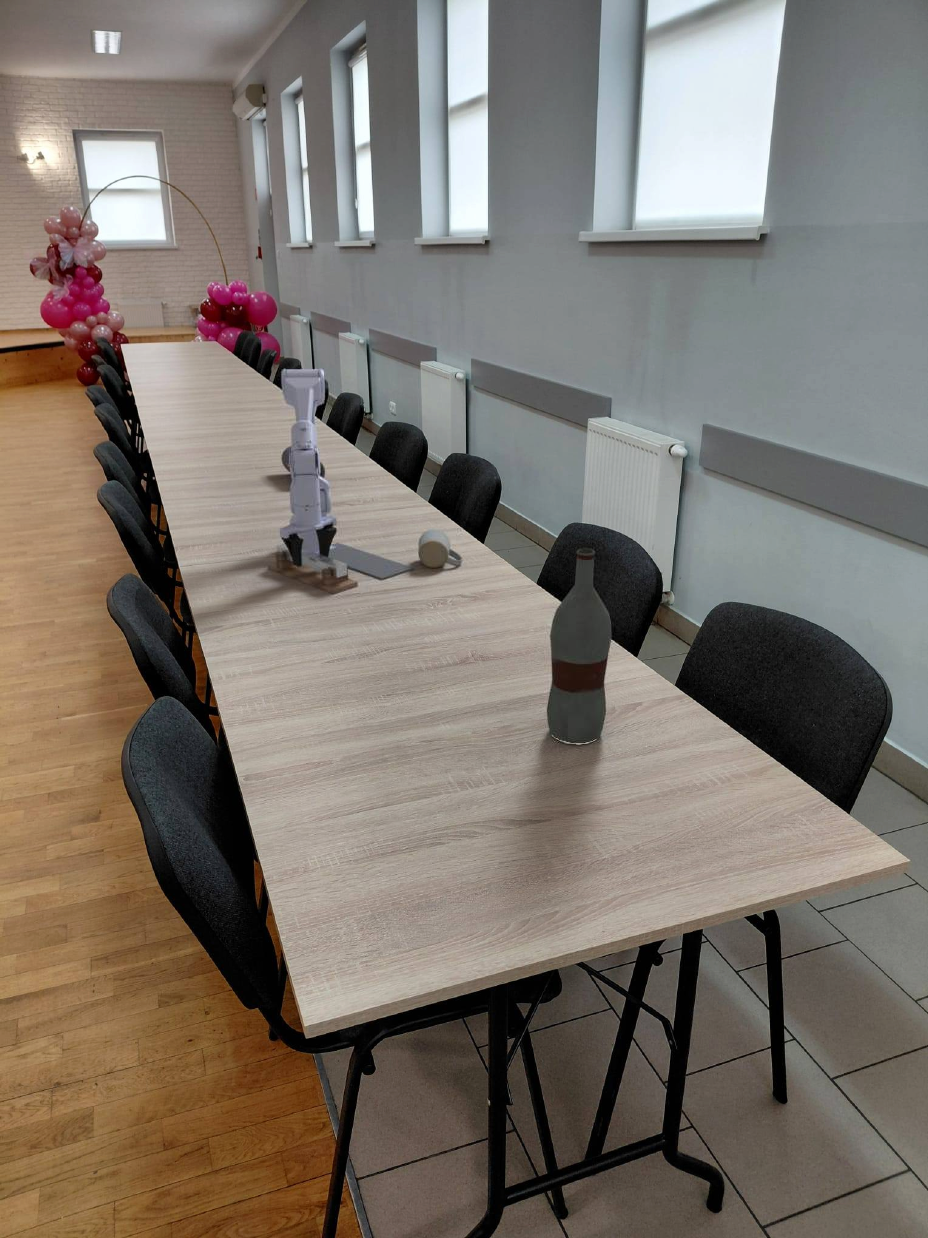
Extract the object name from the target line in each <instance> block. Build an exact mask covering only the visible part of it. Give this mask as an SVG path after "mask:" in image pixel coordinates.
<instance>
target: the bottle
mask: <svg viewBox="0 0 928 1238" xmlns="http://www.w3.org/2000/svg"><path fill="white" fill-rule="evenodd" d="M595 554H596V552H595V550H594V549H592V548H588V547H587V548H586V547H584V548H580V549H579V548H578V550H576V566H575V579H574V580H575V581H574V586H573V587H572V588H571V589H570V591H569V592H568V593H567V595H566V596H565V597H564V598H563V599H562V601H561V602H560V604H559V605H558V607H557V608H556V610H555V613H554V616H553V618H552V621H551V629H550V634H549V640H550V641H549V642H550V650H551V651H550V655H551V684H550V689H549V694H548V701H547V706H546V717H547V719H546V720H547V726H548V729H549V733H550V735H551V734H552V735H553V736H554V737H555V738H558V739H559V740H562V741H566V742H570V743H586V742H590V741H593V740H595V739H597V738H598V737H599V736H600V737H601V734H602V732H603V729H604V724H605V720H606V719H605V718H606V714H607V702H606V701H607V699H606V689H605V679H606V671H607V666H608V660H609V652H610V648H611V643H612V635H613V634H612V621H611V617H610V613H609V611H608V610H607V608H606V606H605V604H604V602H603V601H602V599H601V598H600V596H599V594H598V592H597V591H596V589H595V587H594V566H595V563H594V562H595ZM600 737H599V738H600ZM599 738H598V739H599ZM598 739H597V740H598Z"/></svg>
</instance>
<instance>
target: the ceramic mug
mask: <svg viewBox="0 0 928 1238" xmlns="http://www.w3.org/2000/svg"><path fill="white" fill-rule="evenodd" d="M417 555H418V558H419V560H420V562H421V564H422V565H424V566H425V567H427V568H430V569H438V568H440V567H442V566H444V565H445V564H448V565H450V566H455V567H459V566H461V565H462V562H463V557H462V556H461V554H459V553H458V552H457V551H455V550H454V549H451V542H450V538H449V536H448V535H447V533H445V532H444V531H441V530H439V529H436V528H435V529H434V528H433V529H428V530H426V531H424V532H423V533H422V534H421V536H420V538H419V539H418V551H417ZM451 557H452V558H451Z"/></svg>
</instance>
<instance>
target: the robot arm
mask: <svg viewBox="0 0 928 1238" xmlns="http://www.w3.org/2000/svg"><path fill="white" fill-rule="evenodd" d="M280 376H281V390H282V396H283V398H284V399H283V400H284V401H285V403H286V405H288V406H291V407H293V409H294V413H295V419H296V420H295V421H296V422H295V423H293V425H292V426H291V428H290V435H291V436H290V438H291V439H290V441H291V442H290V443H291V444H290V445H291V453H290V454H289V465H290V472H289V473H290V476H291V483H290V485H289V499H290V500H289V504H290V505H289V506H290V512H291V514H292V515H291V517H290V520H289V525H286V526H284V527H280V528H279V537H280V538H281V540H282V541H283V544H284V543H285V545H286V546H287V548H288V550H289V552H290V555H291V557H292V560H293V564H294V565H296V566H298V567H300V566H302V548H303V549H306V550H309V551H312V552H314V553H320V555H323V556H326V557H328V556H329V551H330V550H331V549H334V548H335V547H334V546H331V545H332V544H333V539H334V538H335V536H336V534H337V531H338V530H337V527H335V526H337V525H338V524H337V522H338V521H337V518H338V517H336V516H335V515H334V516H333V515H327V514H331V511H332V498H331V497H332V496H331V490H330V483H329V481H328V480H326V479H325V477H324V478H322V477H321V476H320V462H321V456H320V451H319V446H318V428H317V426H316V416H315V415H316V411H317V407H318V406H321V405H322V404H323V405H324V404H325V400H326V399H325V398H326V397H325V396H326V395H325V393H326V386H325V385H326V383H325V371H324V369H322V368H314V369H313V368H310V369H309V368H304V369H303V368H302V369H301V368H299V369H288V368H287V369H286V368H283V369H282V370H281V375H280ZM318 471H319V475H318Z"/></svg>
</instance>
